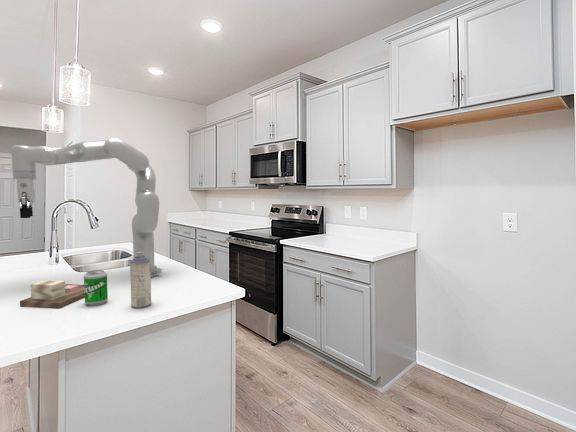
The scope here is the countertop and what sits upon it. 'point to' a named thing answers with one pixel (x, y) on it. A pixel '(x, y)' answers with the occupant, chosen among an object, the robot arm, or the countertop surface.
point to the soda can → (95, 287)
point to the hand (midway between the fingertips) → (26, 217)
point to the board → (60, 303)
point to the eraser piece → (70, 288)
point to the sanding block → (48, 290)
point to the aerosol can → (140, 281)
